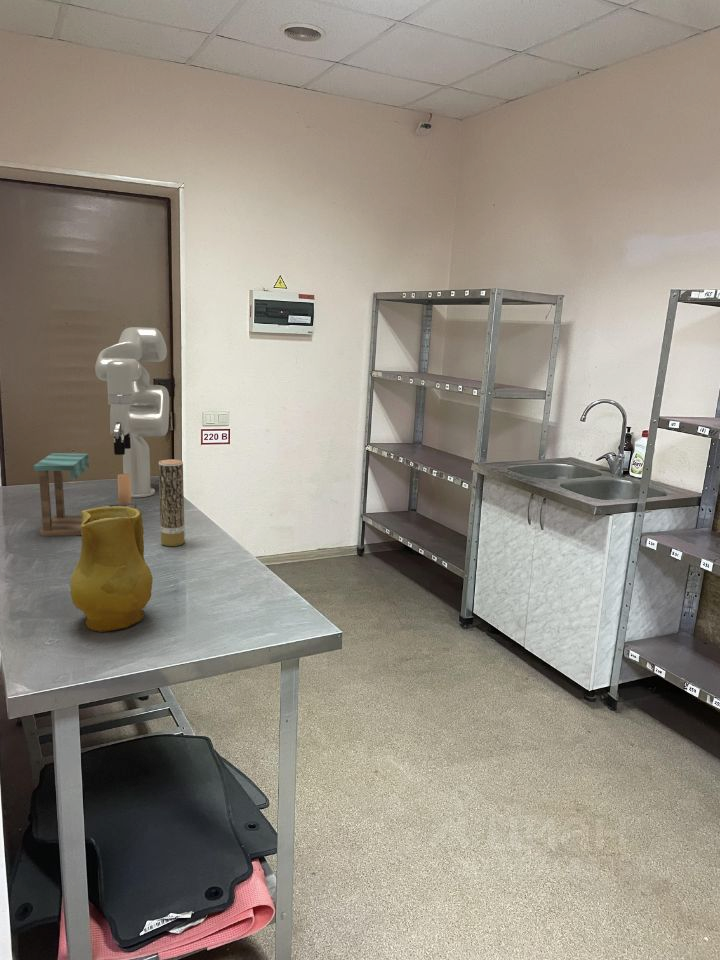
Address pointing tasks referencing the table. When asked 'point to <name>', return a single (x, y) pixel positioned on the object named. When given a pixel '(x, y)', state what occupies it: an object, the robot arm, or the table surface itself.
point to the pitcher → (111, 569)
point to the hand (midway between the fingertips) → (122, 451)
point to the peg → (124, 489)
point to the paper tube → (171, 502)
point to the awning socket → (61, 493)
